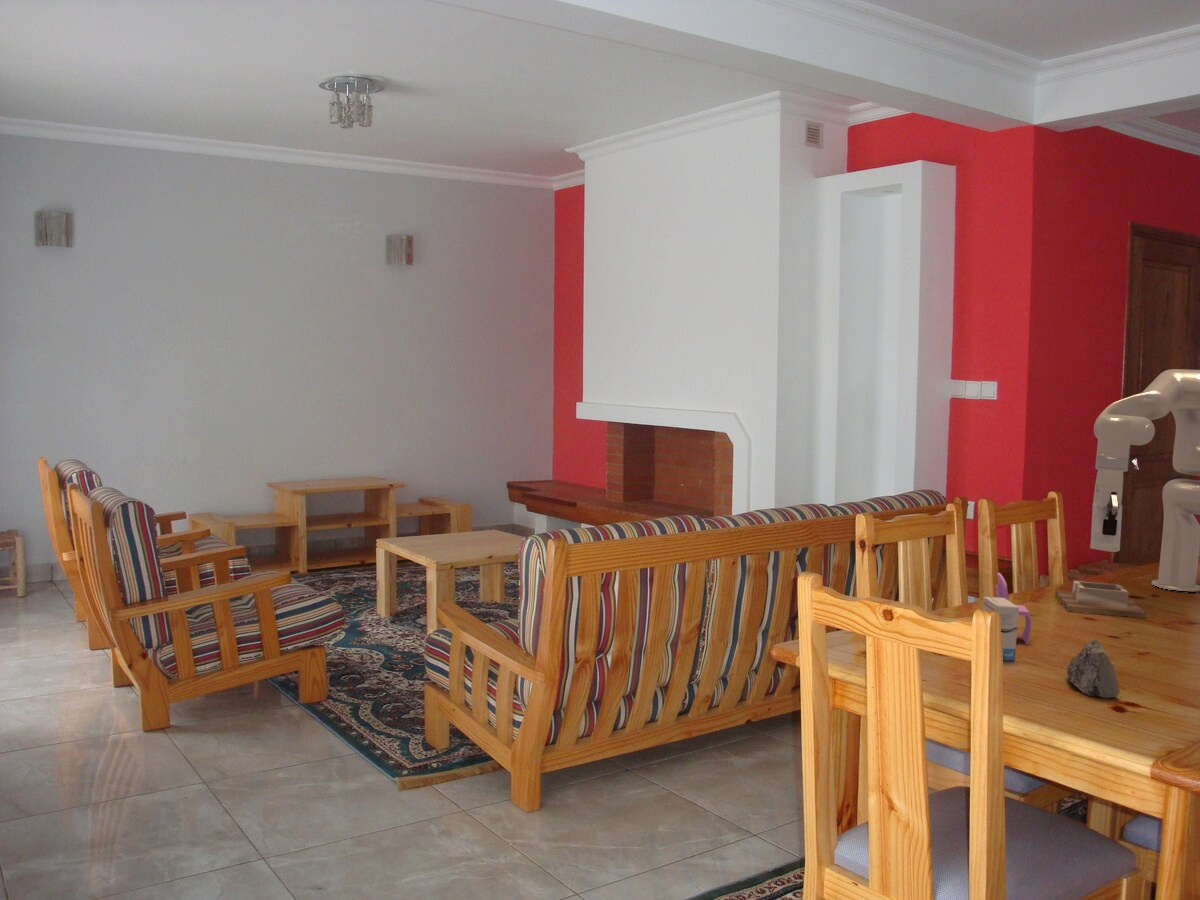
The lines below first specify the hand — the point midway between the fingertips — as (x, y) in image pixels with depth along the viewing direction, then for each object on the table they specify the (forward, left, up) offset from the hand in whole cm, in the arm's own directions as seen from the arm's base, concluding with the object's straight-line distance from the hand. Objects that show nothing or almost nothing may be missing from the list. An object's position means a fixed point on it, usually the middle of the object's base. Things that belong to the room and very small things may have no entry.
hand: (1105, 532), depth 269 cm
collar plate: (0, 0, -20) cm, 20 cm away
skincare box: (0, 0, -5) cm, 5 cm away
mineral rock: (+76, -17, -20) cm, 81 cm away
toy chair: (+44, -28, -20) cm, 56 cm away
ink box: (+59, -32, -20) cm, 70 cm away
